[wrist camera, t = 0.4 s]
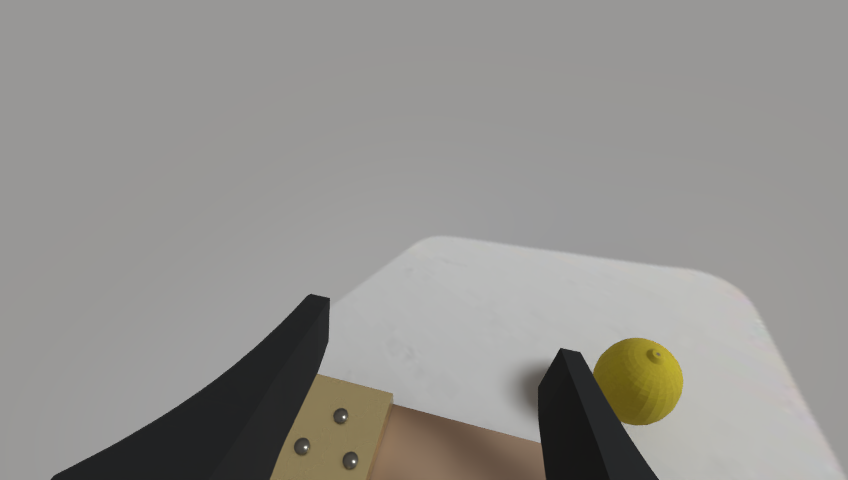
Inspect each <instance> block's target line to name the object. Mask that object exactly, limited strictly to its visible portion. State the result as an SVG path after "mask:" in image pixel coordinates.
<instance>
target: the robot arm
mask: <svg viewBox="0 0 848 480" xmlns="http://www.w3.org/2000/svg"><path fill="white" fill-rule="evenodd" d="M329 309H330V298H327V297H322V296H317V295H313V294H310V295H308V296H307V297H306V298H305V299H304V300H303V301H302V302H301V303H300V304H299V305H298V306H297V308H296V309H295V310H294V311H293V312H292V313H291V314H290V315H289V316H288V317H287V318H286V319H285V320H284V321H283V322H282V323H281V324H280V325H279V326H278V327H277V328H276V329H275V330H273V331H272V332H271V333H270V334H269V335H268V336H267V337H266V338H265V339H264V340H263V341H262V342H260V343H259V344H258V345H257V346H256V347H255V348H254V349H253V350H252V351H250V352H249V353H248V354H247V355H246V356H244V357H243V358H242V359H241V360H240V361H239V362H237V363H236V364H235V365H234V366H232V367H231V368H230V369H229V370H227V371H226V372H225V373H223V374H222V375H221V376H220V377H218V378H217V379H216V380H214V381H213V382H212V383H210V384H209V385H207V386H206V387H205V388H203V389H202V390H201V391H199V392H198V393H196V394H195V395H193V396H192V397H191V398H189V399H187V400H186V401H185V402H183V403H182V404H180V405H179V406H177V407H176V408H174V409H173V410H171V411H170V412H168V413H166V414H165V415H163V416H162V417H160V418H158V419H157V420H155V421H153V422H152V423H150V424H148V425H147V426H145V427H143V428H142V429H140V430H138V431H136V432H135V433H133V434H131V435H130V436H128V437H126V438H124V439H123V440H121V441H119V442H118V443H116V444H114V445H112V446H110V447H108V448H107V449H105V450H103V451H101V452H99V453H97V454H95V455H93V456H91V457H89V458H87V459H85V460H83V461H81V462H79V463H78V464H76V465H74V466H72V467H70V468H68V469H66V470H64V471H62V472H60V473H58V474H56V475H55V476H53V478H52V479H51V480H270V478H271V475H272V473H273V470H274V467H275V465H276V462H277V459H278V457H279V454H280V452H281V449H282V447H283V445H284V442H285V440H286V438H287V436H288V434H289V432H290V429H291V427H292V425H293V423H294V421H295V419H296V417H297V415H298V413H299V411H300V409H301V406H302V404H303V402H304V400H305V398H306V396H307V394H308V392H309V390H310V387H311V385H312V383H313V381H314V379H315V377H316V375H317V373H318V370H319V367H320V364H321V361H322V359H323V356H324V353H325V350H326V347H327V344H328V338H329ZM538 420H539V429H540V437H541V445H542V453H543V461H544V469H545V476H546V480H659V479H658V478H657V476H656V475H655V474H654V472H653V471H652V470H651V468H650V467H649V465H648V464H647V462H646V461H645V460H644V458H643V457H642V455H641V454H640V452H639V451H638V449H637V448H636V446H635V445H634V443H633V442H632V440H631V438H630V437H629V435H628V434H627V432H626V431H625V429H624V427H623V426H622V424H621V422H620V421H619V419H618V417H617V416H616V414H615V412H614V411H613V409H612V407H611V406H610V404H609V402H608V401H607V399H606V397H605V395H604V394H603V392H602V390H601V388H600V387H599V385H598V383H597V381H596V379H595V378H594V376H593V374H592V372H591V370H590V369H589V367H588V365H587V363H586V361H585V360H584V358H583V356H582V355H581V353H580V352H577V351H572V350H567V349H563V348H560V350H559V351H558V353H557V355H556V357H555V358H554V360H553V362H552V364H551V366H550V367H549V369H548V371H547V373H546V374H545V376H544V378H543V380H542V381H541V383H540V385H539V387H538Z"/></svg>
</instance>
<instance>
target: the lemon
mask: <svg viewBox="0 0 848 480" xmlns="http://www.w3.org/2000/svg"><path fill="white" fill-rule="evenodd" d="M593 376H594V378H595V379H596V381H597V383H598V385H599V387H600V388H601V390H602V392H603V394H604V395H605V397H606V399H607V401H608V402H609V404H610V406H611V407H612V409H613V411H614V412H615V414H616V416H617V417H618V419H619V421H621V422H624V423H627V424H631V425H648V424H651V423H654V422H657V421H659V420H661V419H663V418H664V417H665V416H666V415H668V414H669V413H670V412H671V411H672V410H673V409H674V407H675V406H676V404H677V402H678V400H679V398H680V396H681V393H682V387H683V376H682V371H681V368H680V366H679V364H678V362H677V360H676V359H675V358H674V356H673V355H672V354H671V353H670V352H669V351H668V350H667V349H666V348H664V347H663V346H661V345H660V344H658V343H656V342H654V341H651V340H647V339H643V338H630V339H625V340H622V341H620V342H618V343H616V344H614V345H612V346H611V347H610V348H608V349H607V350H606V351H605V352H604V353H603V354H602V355H601V356H600V358H599V360H598V362H597V364H596V366H595V368H594V372H593Z"/></svg>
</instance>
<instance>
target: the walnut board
mask: <svg viewBox="0 0 848 480" xmlns="http://www.w3.org/2000/svg"><path fill="white" fill-rule="evenodd" d="M370 480H546V476H545V469H544V461H543V453H542V445H541V443H538V442H534V441H530V440H526V439H522V438H519V437H515V436H511V435H507V434H504V433H500V432H496V431H492V430H489V429H485V428H481V427H477V426H474V425H470V424H466V423H462V422H459V421H455V420H451V419H447V418H444V417H440V416H436V415H432V414H429V413H425V412H421V411H417V410H414V409H410V408H406V407H402V406H398V405H395V404H393V406H392V409H391V412H390V416H389V419H388V422H387V425H386V428H385V432H384V435H383V438H382V441H381V445H380V448H379V451H378V454H377V457H376V461H375V464H374V467H373V470H372V473H371V477H370Z"/></svg>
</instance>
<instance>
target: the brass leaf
mask: <svg viewBox="0 0 848 480" xmlns="http://www.w3.org/2000/svg"><path fill="white" fill-rule="evenodd" d="M392 406H393V394H392V393H388V392H384V391H381V390H377V389H373V388H369V387H365V386H362V385H358V384H354V383H350V382H346V381H342V380H339V379H335V378H331V377H327V376H323V375H320V374H317V375H316V377H315V379H314V381H313V383H312V385H311V387H310V390H309V392H308V394H307V396H306V398H305V400H304V402H303V404H302V406H301V409H300V411H299V413H298V415H297V417H296V419H295V421H294V423H293V425H292V427H291V429H290V432H289V434H288V436H287V438H286V440H285V442H284V445H283V447H282V449H281V452H280V454H279V457H278V459H277V462H276V465H275V467H274V470H273V473H272V475H271V478H270V480H370V477H371V473H372V470H373V467H374V464H375V461H376V457H377V454H378V451H379V448H380V445H381V441H382V438H383V435H384V432H385V428H386V425H387V422H388V419H389V416H390V412H391V409H392Z"/></svg>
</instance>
